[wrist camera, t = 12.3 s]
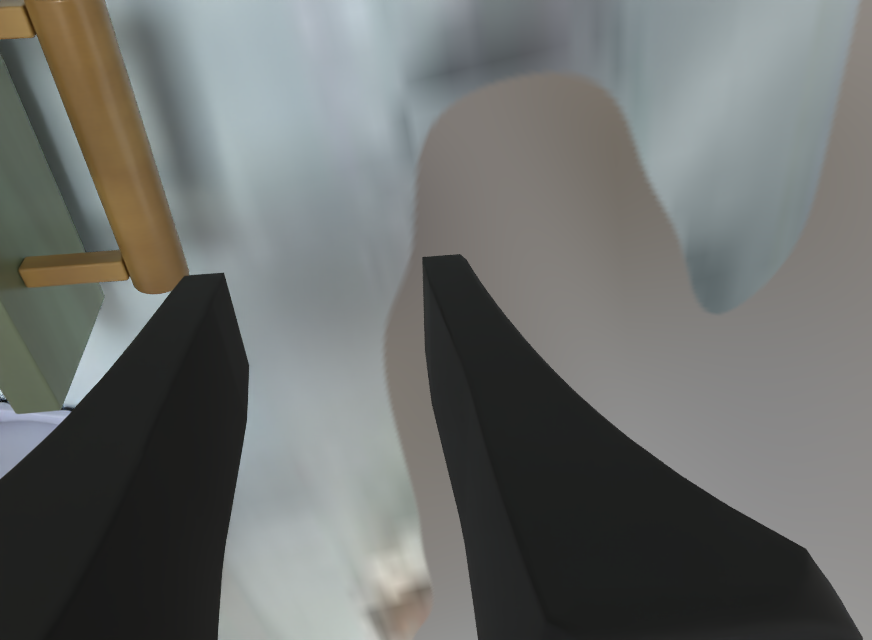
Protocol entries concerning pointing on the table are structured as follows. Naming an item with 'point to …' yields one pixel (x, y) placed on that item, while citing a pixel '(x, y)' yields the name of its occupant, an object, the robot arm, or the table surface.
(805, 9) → the table surface
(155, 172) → the drawer
